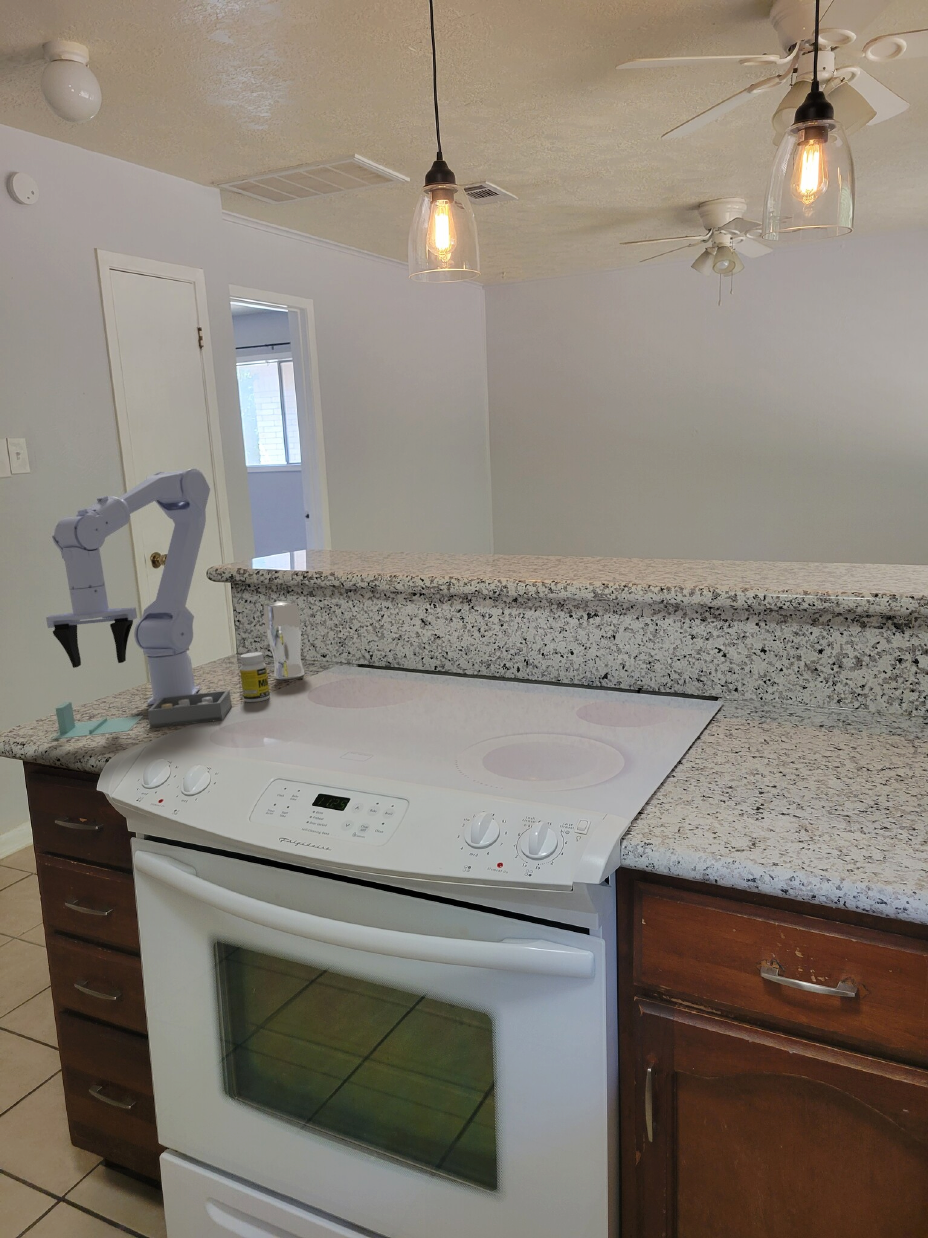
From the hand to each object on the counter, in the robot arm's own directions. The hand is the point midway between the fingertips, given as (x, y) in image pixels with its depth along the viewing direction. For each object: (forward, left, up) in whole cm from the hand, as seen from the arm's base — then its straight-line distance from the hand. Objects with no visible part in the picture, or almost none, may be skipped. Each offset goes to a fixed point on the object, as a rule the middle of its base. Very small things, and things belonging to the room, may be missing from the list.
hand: (99, 664), depth 153 cm
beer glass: (-22, +29, -11) cm, 38 cm away
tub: (+3, +15, -10) cm, 19 cm away
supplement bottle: (-5, +25, -11) cm, 28 cm away
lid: (+3, -1, -11) cm, 11 cm away
